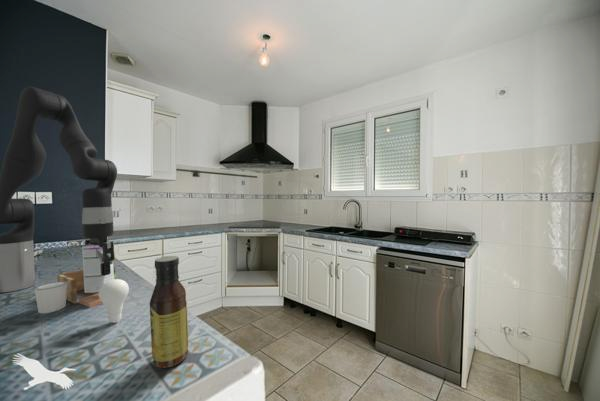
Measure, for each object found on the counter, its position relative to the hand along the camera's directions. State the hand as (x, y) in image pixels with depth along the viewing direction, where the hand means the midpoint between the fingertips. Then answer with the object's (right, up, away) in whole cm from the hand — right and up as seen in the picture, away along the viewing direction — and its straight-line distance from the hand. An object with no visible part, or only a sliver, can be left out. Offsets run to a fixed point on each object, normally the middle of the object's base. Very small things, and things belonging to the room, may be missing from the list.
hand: (99, 273), depth 77 cm
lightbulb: (+16, -8, -15) cm, 23 cm away
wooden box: (-10, -9, +6) cm, 14 cm away
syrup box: (0, -5, 0) cm, 5 cm away
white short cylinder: (-9, -9, -5) cm, 14 cm away
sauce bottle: (+38, -8, -30) cm, 49 cm away
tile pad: (0, -8, 0) cm, 9 cm away
